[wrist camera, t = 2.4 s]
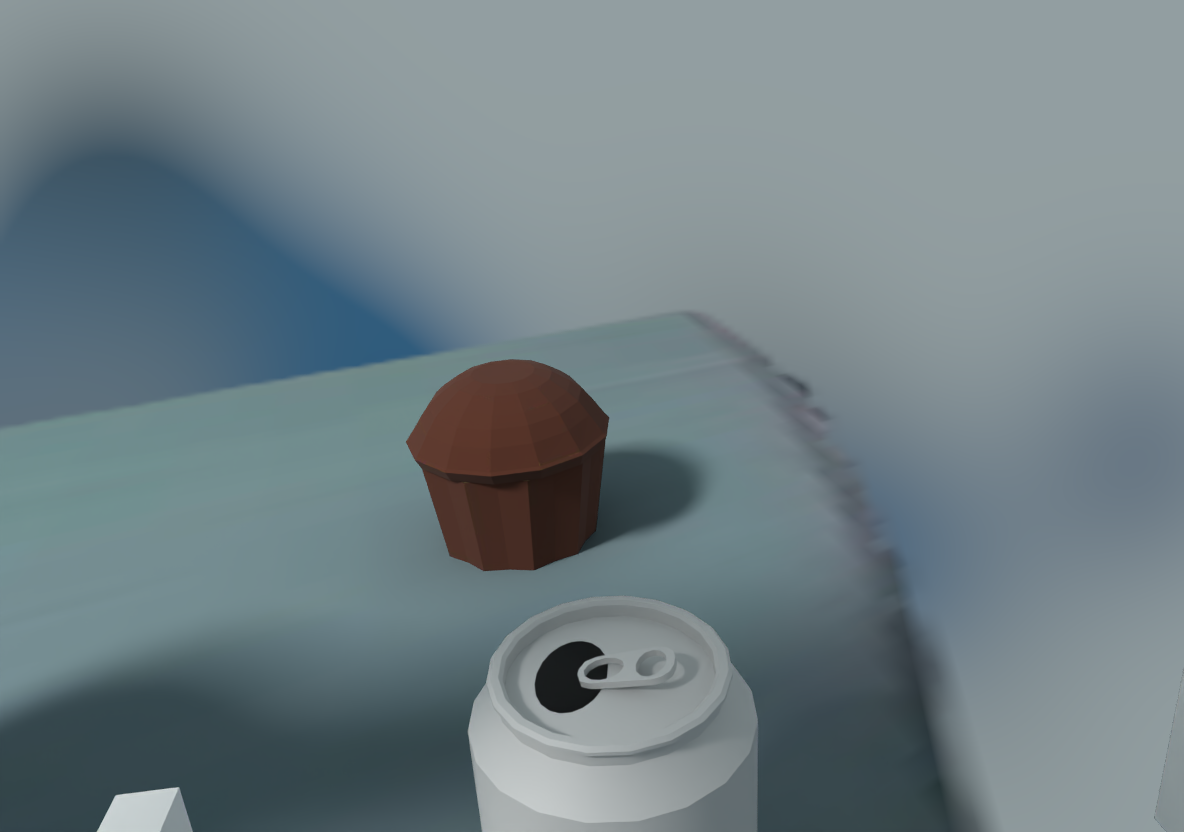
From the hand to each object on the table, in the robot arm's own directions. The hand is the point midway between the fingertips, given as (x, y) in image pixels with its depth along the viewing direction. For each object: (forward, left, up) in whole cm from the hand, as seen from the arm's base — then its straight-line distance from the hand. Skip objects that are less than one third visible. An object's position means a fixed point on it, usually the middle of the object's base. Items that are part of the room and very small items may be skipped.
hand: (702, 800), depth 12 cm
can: (-9, +5, -17) cm, 20 cm away
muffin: (-35, +17, -17) cm, 42 cm away
